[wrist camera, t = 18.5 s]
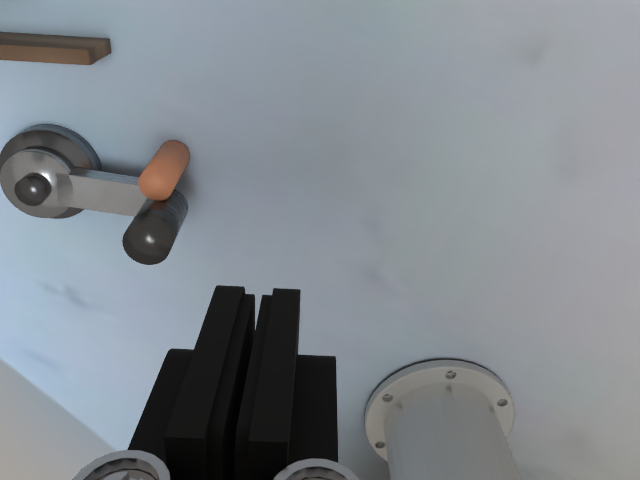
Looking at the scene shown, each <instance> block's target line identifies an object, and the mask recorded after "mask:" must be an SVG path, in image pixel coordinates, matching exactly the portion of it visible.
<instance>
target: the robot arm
mask: <svg viewBox="0 0 640 480" xmlns="http://www.w3.org/2000/svg"><path fill="white" fill-rule="evenodd" d="M299 317H300V290H299V289H278V288H274V289H273V294H272V295H262V299H261V305H260V310H259V315H258V320H257V325H256V330H255V295H254V294H245V288H244V287H238V286H218V285H217V286H216V288H215V290H214V293H213V296H212V299H211V302H210V305H209V308H208V311H207V314H206V316H205V319H204V322H203V325H202V328H201V331H200V334H199V337H198V340H197V343H196V345H195V348H194V350H190V349H170V350H169V351H168V353H167V355H166V357H165V359H164V362H163V364H162V367H161V369H160V372H159V374H158V377H157V379H156V381H155V384H154V386H153V389H152V391H151V394H150V396H149V398H148V401H147V403H146V406H145V408H144V411H143V413H142V416H141V418H140V420H139V423H138V425H137V428H136V430H135V433H134V435H133V438H132V440H131V442H130V445H129V447H128V450H124V451H118V452H113V453H109V454H107V455H105V456H103V457H100V458H98V459H96V460H94V461H92V462H91V463H90V464H88V465H87V466H85V467H84V468H82V469H81V471H80V472H79V473H78V474H77V475H76V476H75V477H74V479H72V480H360V479H359V478H358V477H357V476H356V475H355V474H354V473H353V472H352V471H351V470H349V469H348V468H346V467H345V466H343V465H342V464H340V463H338V432H337V387H336V357H335V356H315V355H298V341H299ZM514 417H515V415H514V405H513V403H512V400H511V397H510V394H509V392H508V391H507V389H506V387H505V385H504V384H503V383H502V382H501V381H500V379H499V378H498V377H497V376H495V375H494V374H493V373H491V372H490V371H488V370H487V369H485V368H482V367H480V366H478V365H475V364H472V363H468V362H463V361H456V360H436V361H428V362H424V363H419V364H416V365H413V366H410V367H407V368H405V369H403V370H401V371H399V372H397V373H395V374H394V375H392V376H390V377H389V378H388V379H387V380H385V381H384V382H383V383H382V384H381V385H380V386H379V387H378V388H377V389H376V390H375V392H374V393H373V394H372V396H371V398H370V400H369V401H368V403H367V407H366V411H365V429H366V436H367V438H368V441H369V443H370V445H371V447H372V448H373V449H374V451H375V452H376V453H377V454H378V455H379V456H380V457H381V458H383V459H384V460H385V461H387V462H388V465H389V473H390V480H521V477H520V475H519V472H518V469H517V467H516V464H515V461H514V459H513V456H512V453H511V451H510V448H509V445H508V443H507V440H506V439H507V437H508V436H509V433H510V431H511V429H512V427H513V422H514Z"/></svg>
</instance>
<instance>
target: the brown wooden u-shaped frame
mask: <svg viewBox="0 0 640 480" xmlns="http://www.w3.org/2000/svg"><path fill="white" fill-rule="evenodd" d="M110 53H111V47H110V39H105V38H89V37H73V36H57V35H41V34H25V33H8V32H0V60H12V61H29V62H45V63H62V64H78V65H91V64H93V63H95V62H96V61H98V60H100V59H101V58H103V57H105V56H106V55H108V54H110Z"/></svg>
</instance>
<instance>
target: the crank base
mask: <svg viewBox="0 0 640 480" xmlns="http://www.w3.org/2000/svg"><path fill="white" fill-rule="evenodd" d="M29 146H45V147H49V148H52V149H54V150H56V151H58V152H60V153H61V154H63V155H64V156H66V157H67V158H68V159H69V160H70V161H71V163H72V164H73V165H74V167H75V168H82V169H88V170H95V171H101V172H102V168H101V164H100V161H99V158H98V156H97V154H96V153H95V151H94V150H93V148H92V147H91V146H90V145H89V143H88V142H86V141H85V140H84V139H83V138H82V137H81V136H79V135H78V134H76V133H75V132H73V131H71V130H69V129H67V128H64V127H61V126H57V125H50V124H42V125H36V126H32V127H30V128H27V129H26V130H24V131H23V132H21V133H20V134H18V135H17V136H15V137H14V138H12V139H11V140H10V141H9V142H8V143H7V144H6V145H5V146H4V148H3V149H2V151H1V154H0V172H1V169H2V167H3V165H4V163H5V162H6V161H7V160H8V159H9V158H10V157H12V156H13V155H14V154H16V153H17V152H18V151H20V150H21V149H23V148H26V147H29ZM83 210H84V209H81V208H75V207H69V208H68V209H67V210H66V211H65V212H63V213H62V214H60V215H58V216H55V217H50V218H67V217H71V216H74V215H76V214H78V213H80V212H81V211H83Z"/></svg>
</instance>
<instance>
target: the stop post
mask: <svg viewBox="0 0 640 480" xmlns="http://www.w3.org/2000/svg"><path fill="white" fill-rule="evenodd" d="M189 160H190V153H189V150H188V148H187V147H186V146H185V145H184V144H183V143H181V142H179V141H176V140H170V141H167V142H165V143H164V144H163V145H162V146H161V147H160V149H159V150H158V151H157V153H156V154H155V156H154V157H153V158H152V160H151V161H150V163H149V164H148V165H147V167H146V168H145V170H144V171H143V172H142V174H141V175H140V177H139V180H138V185H139V189H140V191H141V192H142V193H143V194H144V195H145V196H146V197H147V198H149V199H152V200H156V201H160V200H164V199H166V198H168V197H169V196H170V195H171V193H172V191H173V190H174V188H175V186H176V184H177V182H178V181H179V179H180V177H181V175H182V173H183V171H184V170H185V168H186V166H187V164H188V162H189Z"/></svg>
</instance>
